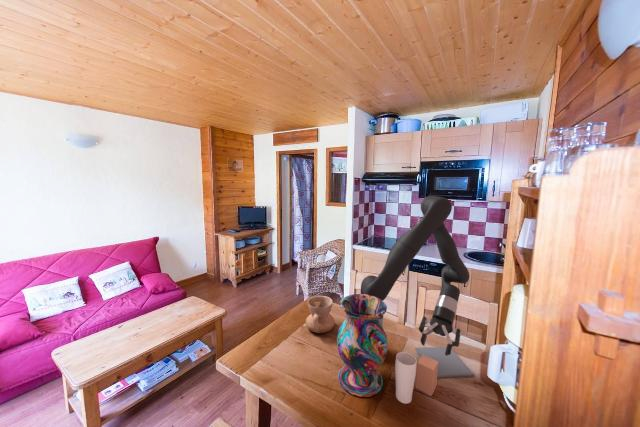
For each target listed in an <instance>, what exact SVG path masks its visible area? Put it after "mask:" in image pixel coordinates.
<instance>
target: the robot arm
mask: <svg viewBox="0 0 640 427" xmlns="http://www.w3.org/2000/svg"><path fill="white" fill-rule="evenodd" d="M452 209H453V204H452V201H450V200H449V199H448V198H446V197H442V196H436V195H428V196H426V197H425V198H423V199H422V201H421V202H420V210H421V213H422V215H423V217H422V218H421V220H419V222H418V223H417V224H415V225H414V226H412V227H411V228H410V229H408V230H407V231H405V232H404V233H403V234H401V235H400V237H398V239H397V240H396V241H395V243H394V244H393V245H392V246H391V248H390V250H389V253H388V255H387V258H386V260H385V264H384V267H383V268H382V270H381V272H380V273H379V274H378V275H377V276H376V275H372V274H371V275H367V276H365V277H364V278H363V279H362V280H361V284H360V294H366V295H371V296H374V297H377V298H379V299H381V300H382V301H383V302H384V300H386V298H387V297H388V295H389V294H390V292H391V290H392V289H393V287H394V285H395V284H396V282H397V281H398V279H399V277H400V276H401V275H402V274H403V273H404V271H405V270H406V268H408V265H410V263H411V262H413V260H414V258H415V257H416V256H417V254H419V252H420V250H421V249H422V248H423V246H424V245H425V244H426V243H427V241H428V240H429V238H430V237H432V235H433V239H434V241H435V244H436V247H437V250H438V253H439V257H440V258H441V262H442V263H443V264H445V266H444V267H442V269H441V288H440V291H439V295H438V298H437V300H436V303H435V306H434V310H433V313H432V317H431V318H427V317H426V316H424V315H423V316H422V318H421V321H420V324H419V327H418V331H419V332H420V334H421V337H420V338H421V339H420V343H421V346H422V347H425V346H426V341H427V338H428V335H430V334H432V333H434V334H436V335H439V336H442V337H446V341H447V342H448V343H447V344H446V347H447V348H446V352H445V355H446V356H448V355H450V354H451V350H453V347H456V348H458V347H459V346H460V341H461V340H460V339H461V334H462V332H461V329H460V328H454V327H453V325H454V321H455V318H456V315H457V310H458V302H459V299H460V294H461V290H460V288H459V287H458V286H456V285H454V284H451V283H455V284H466V283H468V282H469V280H470V272H469V270H468V268H467V266H466V265H465V263H464V262H463V260H462V258H461V257H460V254H459V251H458V248H457V244H456V243H455V240H454V238H453V237H452V235H451V234H450V232H449V230H448V229H447V227H446V225H445V221H446V219H447V220H448V217H449V216H450V215H451V213H452ZM379 321H380V323H381V325H382V327H383V328H384V315H382V316H381V317H380V320H379ZM428 324H430V326H428V327H427V328H426V329H425V327H426V325H428ZM452 333H453V334H454V335H455V338H454V341H452V339H451V337H450V335H449V334H452Z"/></svg>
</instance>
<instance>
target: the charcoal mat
mask: <svg viewBox="0 0 640 427" xmlns="http://www.w3.org/2000/svg"><path fill="white" fill-rule="evenodd" d="M446 348H447V346H430V347H427V346H422V347H415V348H414V350H415V352H416V353H417V355H418V357H419V359H420V358H421V357H422V355H425V356H427V357H429V358H431V359H434V360H436V361H438V373H437V379H440V378H455V377H456V378H459V377H474V376H475V374H474V373H473V371H472V370H471V369H470V368H469V367H468V366H467V364H466V363H465V362H464V361H463V360H462V359H461V357H460V356H459V355H458V354H457V353H456V352H455V350H454V349H452V350H451V354H450V355H448V356H446V355H445V352H446Z"/></svg>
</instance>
